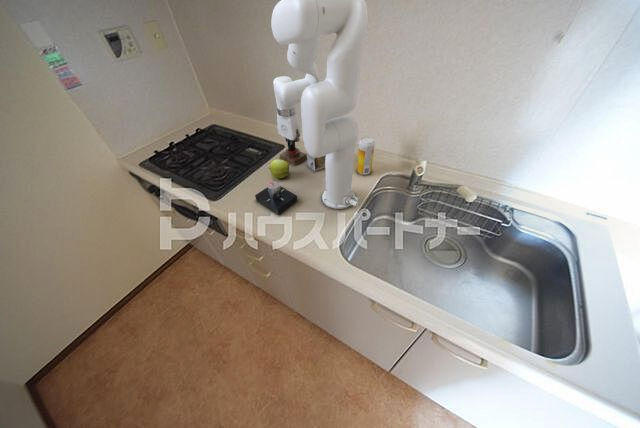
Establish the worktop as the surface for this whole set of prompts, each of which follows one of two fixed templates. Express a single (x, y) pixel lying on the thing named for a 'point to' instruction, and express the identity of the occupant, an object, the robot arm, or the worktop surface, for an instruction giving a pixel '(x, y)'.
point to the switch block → (293, 156)
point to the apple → (279, 168)
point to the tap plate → (276, 200)
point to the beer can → (365, 155)
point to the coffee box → (316, 162)
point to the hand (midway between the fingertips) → (292, 150)
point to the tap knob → (274, 190)
